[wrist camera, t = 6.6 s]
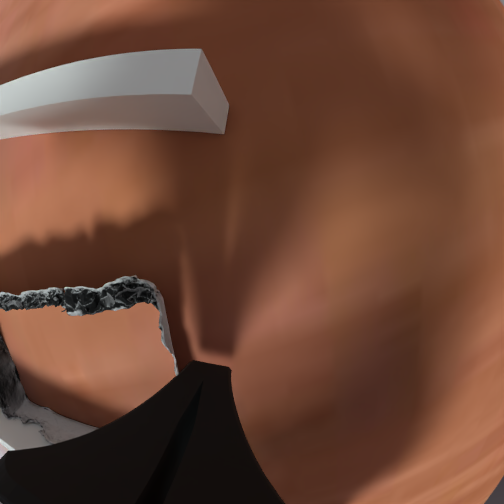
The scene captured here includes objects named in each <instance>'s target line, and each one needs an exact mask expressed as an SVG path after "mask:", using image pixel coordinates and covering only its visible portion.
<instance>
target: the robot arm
mask: <svg viewBox="0 0 504 504" xmlns="http://www.w3.org/2000/svg"><path fill="white" fill-rule="evenodd" d="M231 371H232V370H231V369H230V368H229V367H226V366H221V365H215V364H210V363H205V362H200V361H195V360H193V361H191V362H189V363H188V365H187V366H186V367H185V368H184V369H183V370H182V371H181V372H180V373H179V374H178V375H177V376H175V377H174V378H173V379H172V380H171V381H170V382H169V383H168V384H167V385H165V386H164V387H163V388H162V389H161V390H159V391H158V392H157V393H156V394H155V395H153V396H152V397H151V398H149V399H148V400H146V401H145V402H144V403H142V404H141V405H139V406H138V407H137V408H135V409H134V410H132V411H130V412H129V413H127V414H126V415H124V416H122V417H120V418H119V419H117V420H115V421H113V422H111V423H109V424H107V425H105V426H103V427H101V428H99V429H96V430H94V431H92V432H90V433H87V434H85V435H82V436H79V437H76V438H73V439H70V440H66V441H63V442H59V443H56V444H52V445H48V446H43V447H37V448H30V449H22V450H11V451H7V453H6V454H5V455H4V456H3V457H2V458H1V459H0V502H1V503H2V504H285V503H284V501H283V500H282V499H281V497H280V496H279V495H278V493H277V492H276V490H275V489H274V487H273V486H272V485H271V483H270V482H269V480H268V479H267V477H266V476H265V474H264V472H263V471H262V469H261V467H260V465H259V464H258V462H257V460H256V458H255V456H254V454H253V452H252V450H251V448H250V446H249V444H248V441H247V439H246V436H245V434H244V431H243V429H242V426H241V423H240V420H239V417H238V413H237V410H236V406H235V402H234V398H233V392H232V386H231Z"/></svg>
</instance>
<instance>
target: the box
mask: <svg viewBox="0 0 504 504" xmlns="http://www.w3.org/2000/svg"><path fill="white" fill-rule="evenodd" d="M228 110H229V103H228V101H227V99H226V97H225V95H224V93H223V91H222V89H221V87H220V85H219V82H218V80H217V78H216V76H215V74H214V72H213V70H212V68H211V66H210V64H209V62H208V60H207V58H206V56H205V54H204V52H203V50H202V49H167V50H152V51H141V52H131V53H123V54H116V55H109V56H103V57H97V58H92V59H87V60H82V61H77V62H73V63H69V64H65V65H61V66H57V67H53V68H50V69H46V70H43V71H39V72H36V73H33V74H30V75H27V76H24V77H21V78H18V79H15V80H13V81H10V82H7V83H5V84H2V85H0V139H6V138H12V137H19V136H26V135H35V134H44V133H54V132H66V131H81V130H108V129H146V130H174V131H190V132H204V133H215V134H224V133H225V127H226V121H227V115H228ZM40 430H43V428H42V427H41V425H40V424H38V423H36V422H30V421H29V422H28V423H26V424H23V423H22V421H21V420H20V419H14V418H12V419H11V420H8V419H7V418H5V416H4V415H3V413H2V410H1V408H0V443H1V444H2V445H3V446H5V447H6V448H7V449H8V450H10V451H11V450H22V449H30V448H37V447H43V446H48V445H52V444H50V443H48V442H47V440H46V439H45V437H44V436H43V435H41V434H40V433H39V432H38V431H40Z"/></svg>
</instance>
